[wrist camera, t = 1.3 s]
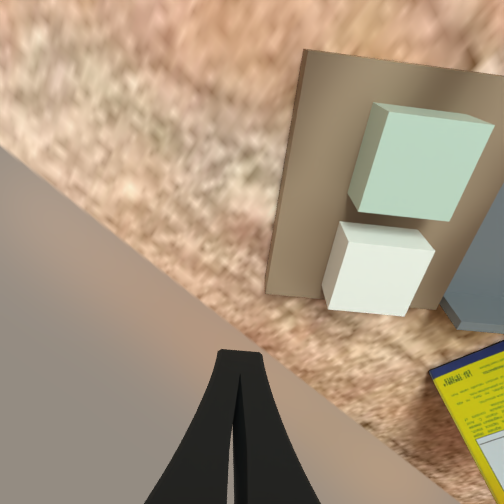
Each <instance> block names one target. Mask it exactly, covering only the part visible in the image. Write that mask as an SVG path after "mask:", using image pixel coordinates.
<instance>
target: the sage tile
mask: <svg viewBox="0 0 504 504" xmlns="http://www.w3.org/2000/svg"><path fill="white" fill-rule="evenodd" d="M494 126H495V125H493V124H491V123H488V122H485V121H483V120H480V119H478V118H475V117H473V116H470V115H467V114H461V113H453V112H445V111H437V110H430V109H422V108H414V107H406V106H398V105H391V104H383V103H375V102H373V104H372V108H371V111H370V115H369V119H368V122H367V126H366V129H365V133H364V136H363V140H362V143H361V147H360V150H359V154H358V158H357V161H356V165H355V168H354V172H353V175H352V179H351V182H350V186H349V189H348V195H349V197H350V198H351V200H352V202H353V204H354V205H355V207H356V209H357V211H358V212H366V213H375V214H384V215H393V216H402V217H411V218H420V219H429V220H439V221H448V222H449V221H450V219H451V217H452V215H453V213H454V211H455V209H456V207H457V204H458V202H459V200H460V198H461V196H462V194H463V192H464V190H465V188H466V185H467V183H468V181H469V179H470V177H471V175H472V173H473V171H474V169H475V166H476V164H477V162H478V160H479V158H480V156H481V154H482V152H483V150H484V147H485V145H486V143H487V141H488V139H489V137H490V135H491V133H492V131H493V128H494Z"/></svg>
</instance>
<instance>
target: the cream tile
mask: <svg viewBox="0 0 504 504" xmlns="http://www.w3.org/2000/svg"><path fill="white" fill-rule="evenodd" d="M434 253H435V250H434V249H433V248H432V246H431V245H430V244H429V243H428V241H427V240H426V239H425V238H424V237H423V235H422V234H421V233H420V232H419V231H418V230H416V229H407V228H397V227H388V226H379V225H370V224H360V223H351V222H342V221H339V225H338V228H337V232H336V236H335V239H334V243H333V246H332V250H331V253H330V257H329V260H328V264H327V267H326V271H325V275H324V278H323V282H322V289H323V292H324V296H325V300H326V304H327V308H328V309H330V310H341V311H351V312H362V313H373V314H383V315H394V316H405V314H406V312H407V310H408V308H409V306H410V304H411V301H412V299H413V297H414V295H415V293H416V291H417V289H418V287H419V285H420V282H421V280H422V278H423V276H424V274H425V272H426V270H427V268H428V266H429V263H430V261H431V259H432V257H433V255H434Z"/></svg>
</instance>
